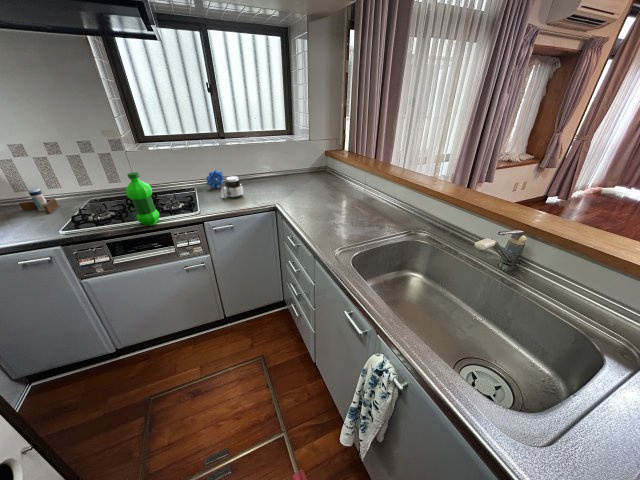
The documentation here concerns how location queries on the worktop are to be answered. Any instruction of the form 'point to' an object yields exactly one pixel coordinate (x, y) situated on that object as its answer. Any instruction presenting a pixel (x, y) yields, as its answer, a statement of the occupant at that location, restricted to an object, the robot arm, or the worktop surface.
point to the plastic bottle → (142, 200)
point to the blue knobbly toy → (215, 179)
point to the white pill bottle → (38, 198)
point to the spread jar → (232, 188)
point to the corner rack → (48, 207)
